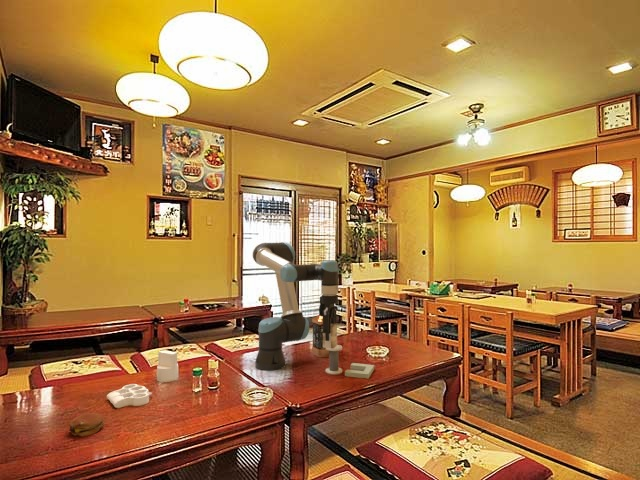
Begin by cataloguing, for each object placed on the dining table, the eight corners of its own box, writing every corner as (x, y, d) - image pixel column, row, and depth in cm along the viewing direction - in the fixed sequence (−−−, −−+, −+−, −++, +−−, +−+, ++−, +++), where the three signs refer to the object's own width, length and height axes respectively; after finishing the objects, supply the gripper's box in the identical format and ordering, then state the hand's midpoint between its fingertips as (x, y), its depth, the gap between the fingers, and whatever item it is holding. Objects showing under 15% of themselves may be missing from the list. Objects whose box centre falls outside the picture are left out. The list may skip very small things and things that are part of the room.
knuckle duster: (104, 398, 157) (142, 389, 167) (117, 412, 143) (158, 401, 153) (104, 389, 157) (142, 381, 167) (117, 403, 143) (158, 393, 153)
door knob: (323, 373, 184) (323, 348, 185) (328, 368, 192) (328, 343, 192) (339, 375, 182) (339, 349, 182) (344, 370, 189) (344, 345, 190)
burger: (102, 421, 136) (102, 407, 136) (104, 432, 128) (104, 418, 128) (68, 428, 131) (68, 414, 131) (68, 440, 123) (68, 425, 123)
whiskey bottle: (319, 358, 209) (319, 298, 210) (310, 353, 218) (310, 296, 218) (335, 355, 214) (335, 296, 214) (327, 351, 223) (327, 294, 223)
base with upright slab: (152, 380, 176) (152, 353, 176) (167, 374, 184) (168, 348, 184) (167, 383, 172) (167, 356, 172) (182, 377, 180) (182, 350, 180)
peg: (322, 347, 176) (322, 325, 176) (326, 344, 180) (326, 323, 180) (333, 348, 174) (333, 326, 174) (336, 345, 179) (336, 323, 179)
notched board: (344, 376, 181) (344, 371, 181) (352, 366, 194) (352, 362, 194) (368, 378, 177) (368, 374, 178) (374, 369, 191) (374, 365, 191)
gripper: (331, 297, 168) (331, 352, 167) (343, 292, 185) (343, 342, 184) (314, 296, 170) (315, 350, 170) (328, 292, 187) (328, 340, 187)
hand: (329, 346), depth 177 cm, fingers closed on peg, 5 cm apart
